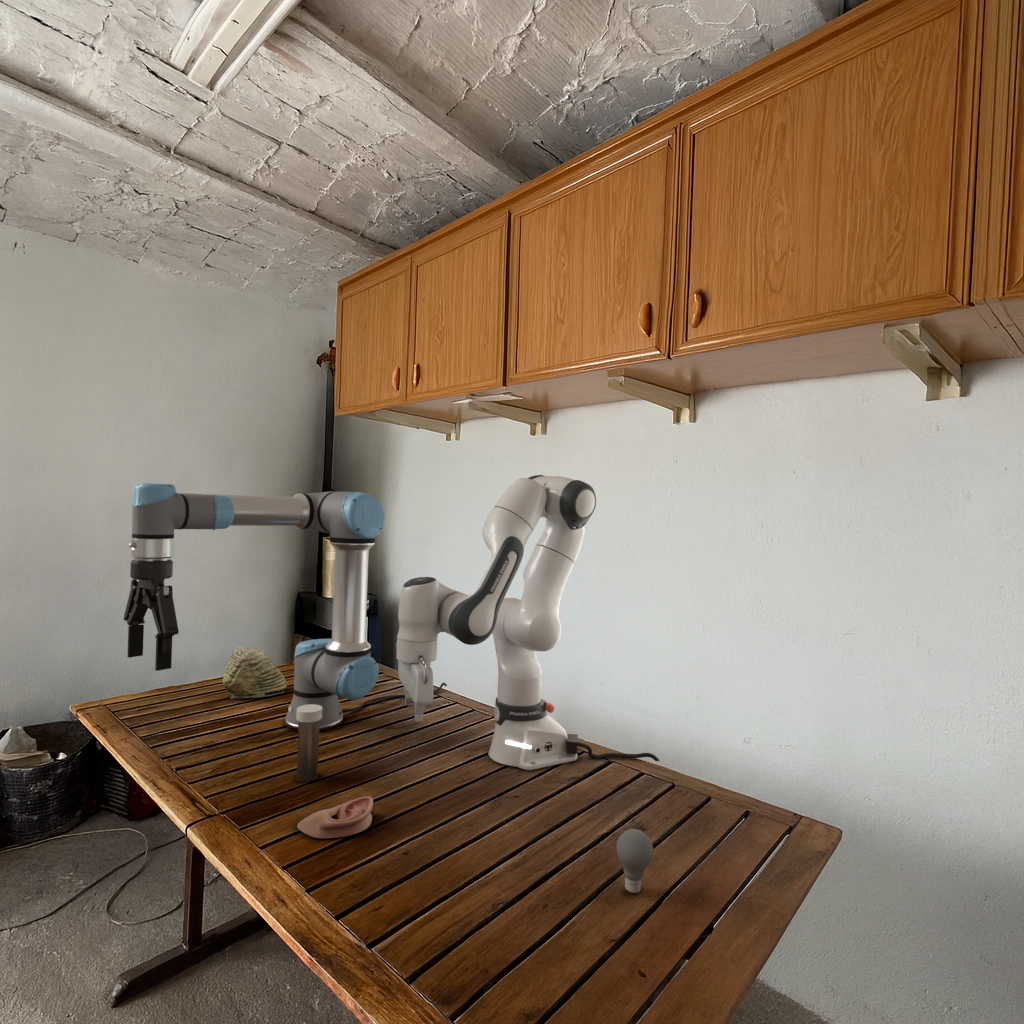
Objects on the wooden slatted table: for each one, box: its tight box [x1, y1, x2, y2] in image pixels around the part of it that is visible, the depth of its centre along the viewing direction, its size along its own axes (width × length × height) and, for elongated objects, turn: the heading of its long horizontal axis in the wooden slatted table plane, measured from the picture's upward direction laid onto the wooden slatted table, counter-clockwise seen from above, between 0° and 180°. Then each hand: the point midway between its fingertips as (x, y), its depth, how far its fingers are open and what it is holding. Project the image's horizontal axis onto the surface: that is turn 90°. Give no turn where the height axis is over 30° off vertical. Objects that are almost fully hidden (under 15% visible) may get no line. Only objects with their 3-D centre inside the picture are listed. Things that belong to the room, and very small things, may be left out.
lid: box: [296, 704, 322, 722], centre depth 142 cm, size 6×6×2 cm
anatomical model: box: [296, 796, 374, 840], centre depth 123 cm, size 13×4×12 cm
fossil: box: [222, 646, 288, 699], centre depth 198 cm, size 9×18×15 cm, turn 132°
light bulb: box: [615, 828, 654, 894], centre depth 106 cm, size 6×6×10 cm
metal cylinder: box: [296, 720, 320, 783], centre depth 142 cm, size 4×4×15 cm
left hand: (148, 662), depth 129 cm, fingers open, 13 cm apart
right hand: (413, 713), depth 140 cm, fingers open, 8 cm apart
